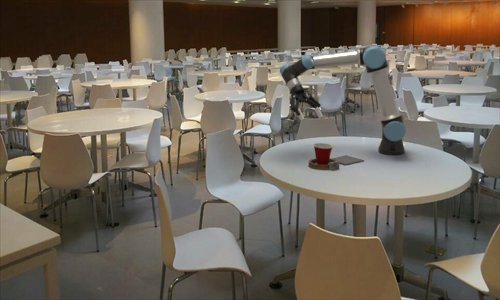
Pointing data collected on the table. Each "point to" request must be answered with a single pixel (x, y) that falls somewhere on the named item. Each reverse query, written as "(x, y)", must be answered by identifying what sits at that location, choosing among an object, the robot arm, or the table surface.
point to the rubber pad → (347, 160)
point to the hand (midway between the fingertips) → (312, 118)
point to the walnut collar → (331, 166)
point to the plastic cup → (322, 153)
